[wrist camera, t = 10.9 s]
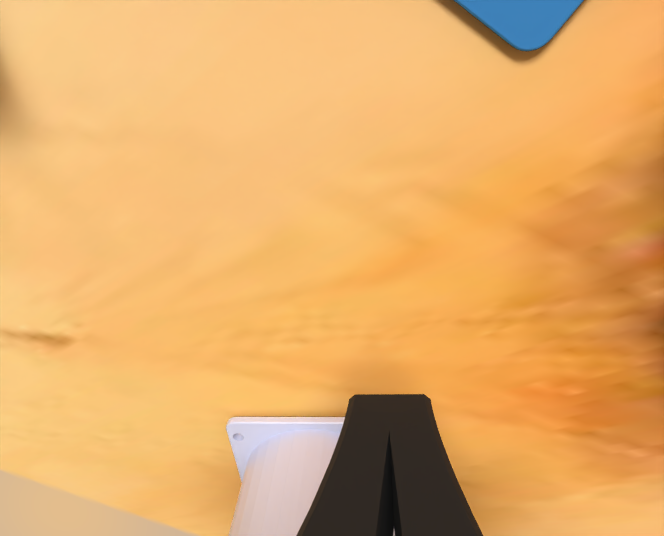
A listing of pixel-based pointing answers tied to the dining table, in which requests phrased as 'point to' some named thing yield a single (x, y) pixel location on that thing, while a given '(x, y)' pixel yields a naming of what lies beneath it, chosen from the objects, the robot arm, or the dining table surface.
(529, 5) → the handheld gaming device
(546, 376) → the dining table surface
